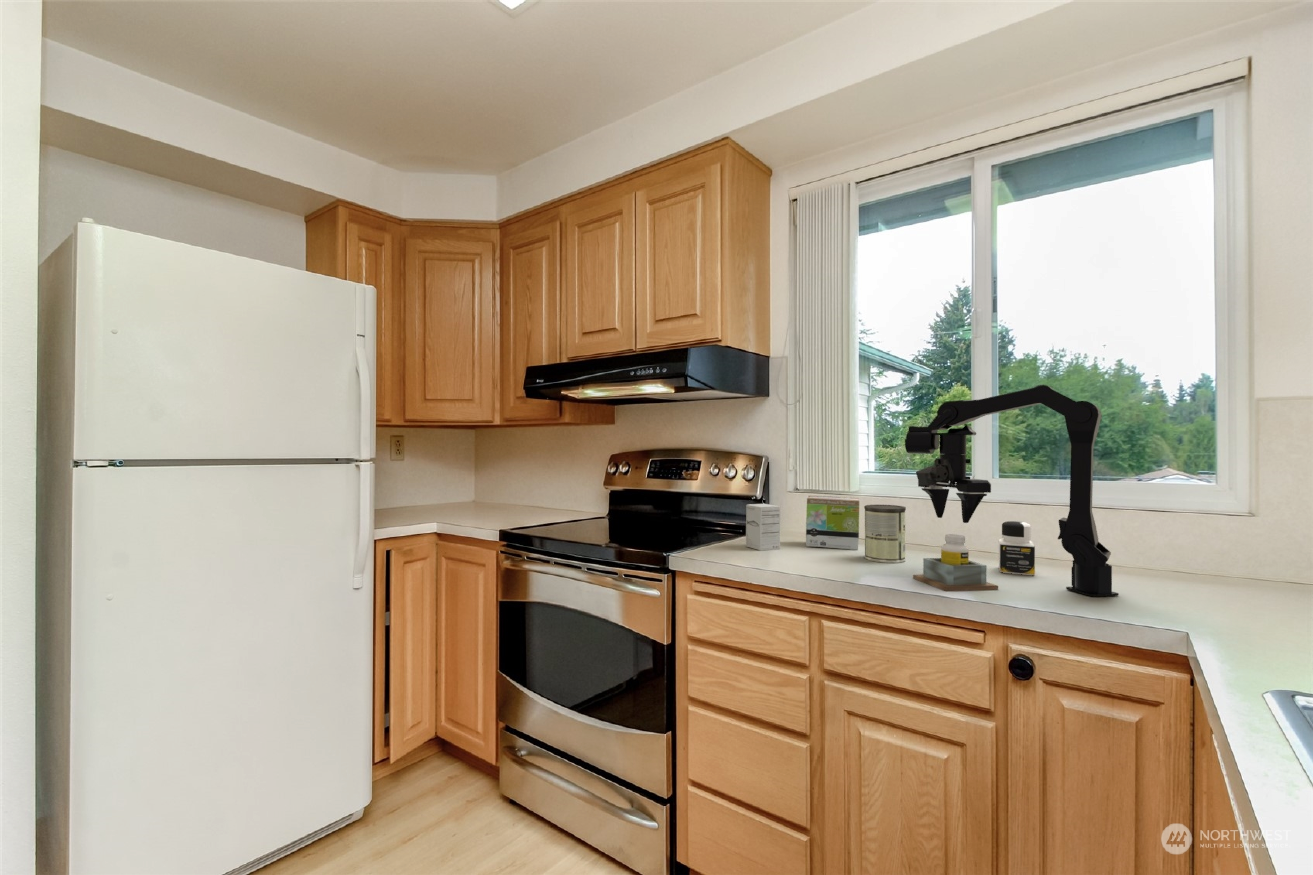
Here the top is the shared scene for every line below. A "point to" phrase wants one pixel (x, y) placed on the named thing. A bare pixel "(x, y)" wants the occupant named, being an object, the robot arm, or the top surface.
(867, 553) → the coffee can
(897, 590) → the top surface
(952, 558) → the supplement bottle
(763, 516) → the supplement box
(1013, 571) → the medicine bottle
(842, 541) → the tea box
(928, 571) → the socket board
